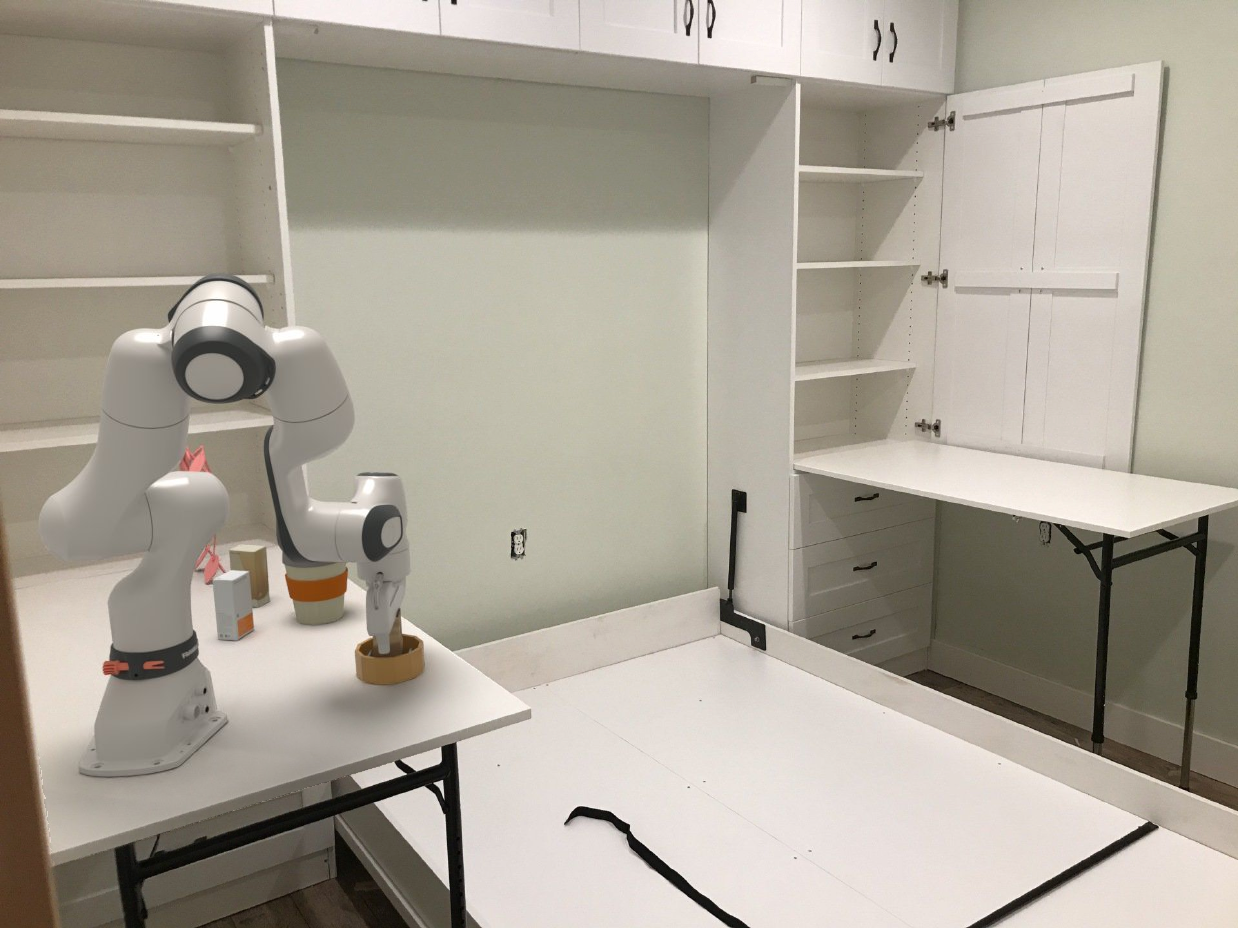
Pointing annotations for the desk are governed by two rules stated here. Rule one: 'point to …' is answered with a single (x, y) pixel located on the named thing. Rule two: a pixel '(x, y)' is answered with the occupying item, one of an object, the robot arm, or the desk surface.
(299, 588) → the reusable coffee cup
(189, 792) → the desk surface
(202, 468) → the pink branch
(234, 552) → the skincare box
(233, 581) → the skincare box
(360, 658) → the bowl
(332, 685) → the desk surface
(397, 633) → the tall wooden block
